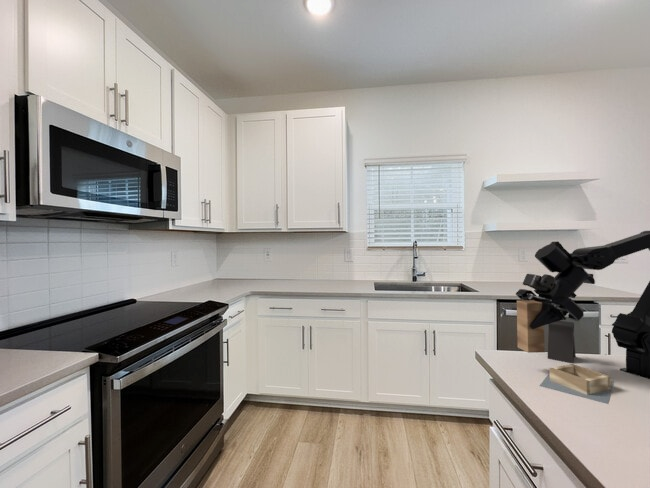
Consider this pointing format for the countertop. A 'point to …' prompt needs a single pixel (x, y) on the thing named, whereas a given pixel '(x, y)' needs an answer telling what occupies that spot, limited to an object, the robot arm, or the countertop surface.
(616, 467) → the countertop surface
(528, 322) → the walnut block
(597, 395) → the slate board
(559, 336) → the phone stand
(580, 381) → the maple socket
